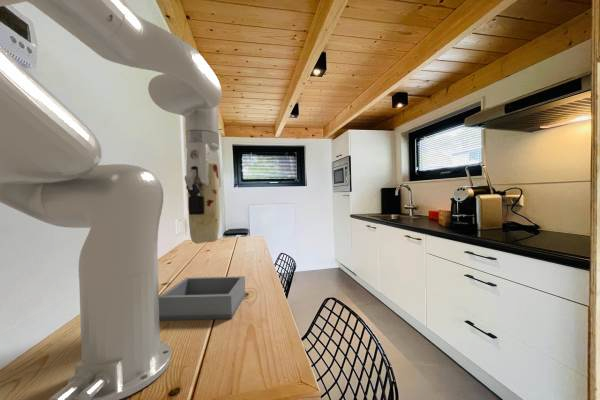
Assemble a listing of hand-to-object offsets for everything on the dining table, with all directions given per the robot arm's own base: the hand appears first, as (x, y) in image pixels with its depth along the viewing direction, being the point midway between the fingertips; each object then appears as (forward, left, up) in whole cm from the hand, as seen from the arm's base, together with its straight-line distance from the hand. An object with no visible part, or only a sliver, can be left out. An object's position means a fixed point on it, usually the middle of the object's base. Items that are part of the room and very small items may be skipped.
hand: (204, 212), depth 58 cm
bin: (0, 0, -23) cm, 23 cm away
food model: (0, 0, -7) cm, 7 cm away
